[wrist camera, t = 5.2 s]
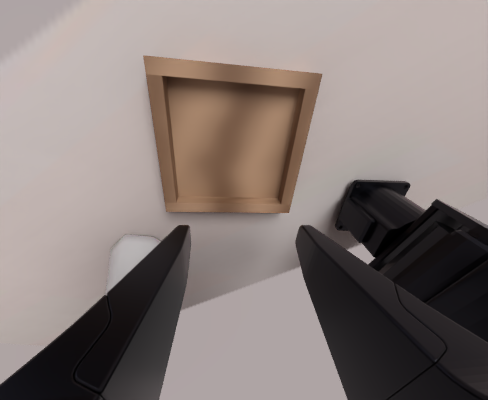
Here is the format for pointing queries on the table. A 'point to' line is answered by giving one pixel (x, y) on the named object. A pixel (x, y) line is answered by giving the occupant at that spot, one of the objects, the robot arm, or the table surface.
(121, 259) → the flask
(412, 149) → the table surface
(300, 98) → the tray
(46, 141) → the table surface
